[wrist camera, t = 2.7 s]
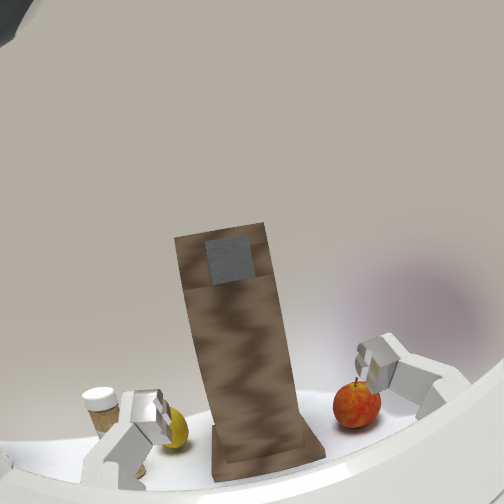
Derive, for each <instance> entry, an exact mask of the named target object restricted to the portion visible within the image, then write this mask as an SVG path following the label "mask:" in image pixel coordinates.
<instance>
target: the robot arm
mask: <svg viewBox="0 0 504 504" xmlns="http://www.w3.org/2000/svg"><path fill="white" fill-rule="evenodd" d="M44 1H45V0H0V47H2V46H3V45H5V44H7V43H8V42H10V41H11V40H13V39H14V37H15V36H16V34H17V33H18V32H19V31H20V30H21V29H22V28H24V26H26V25H27V24H28V22H29V21H30V20H31V19H32V18H33V17H34V15H35V14H36V13H37V12H38V10H39V9H40V7H41V6H42V4H43V2H44ZM357 351H358V352H359V354H358V355H357V357H356V360H355V366H356V370H357V373H358V374H359V376H360V377H361V378H363V379H366V382H365V385H366V387H367V388H368V390H369V391H370V393H371V394H372V395H373V394H376V393H378V392H381V391H383V390H386V389H388V388H389V390H391V391H393V392H395V393H397V394H398V395H401V396H402V397H404V398H406V399H408V400H410V401H412V402H414V403H416V404H418V405H420V406H421V407H420V409H419V410H418V412H417V414H416V419H417V420H418V421H417V422H415V423H413V424H412V425H410V426H408V427H406V428H404V429H403V430H401V431H399V432H397V433H395V434H393V435H391V436H389V437H387V438H385V439H383V440H381V441H379V442H376V443H374V444H372V445H370V446H368V447H365V448H363V449H361V450H358V451H356V452H354V453H351V454H349V455H346V456H343V457H341V458H338V459H335V460H333V461H330V462H327V463H324V464H321V465H318V466H315V467H312V468H308V469H305V470H302V471H298V472H295V473H291V474H287V475H283V476H279V477H275V478H271V479H266V480H261V481H257V482H251V483H246V484H240V485H233V486H226V487H219V488H210V489H199V490H183V491H146V486H145V485H144V484H143V483H142V482H140V481H139V480H138V479H136V478H135V475H136V473H137V472H138V470H139V468H140V467H141V465H142V464H143V462H144V460H145V459H146V457H147V455H148V454H149V452H150V450H151V449H152V447H153V446H152V445H162V444H172V430H171V428H170V427H169V424H170V423H171V422H172V418H171V411H170V407H169V404H168V403H167V401H166V400H164V399H163V394H162V392H161V390H160V389H154V390H138V391H125V392H124V393H123V394H122V400H121V406H120V412H119V419H118V423H115V424H114V425H113V426H112V427H111V428H110V429H109V431H108V432H107V433H106V434H105V435H104V436H103V437H102V438H101V440H100V441H99V442H98V443H97V444H96V445H95V446H94V448H93V449H92V450H91V451H90V452H89V453H88V454H87V455H86V457H85V458H84V461H83V468H82V475H81V484H76V483H70V482H65V481H61V480H56V479H52V478H48V477H44V476H41V475H37V474H34V473H30V472H27V471H24V470H21V469H12V463H13V462H12V460H11V458H10V457H9V456H8V455H4V454H3V452H2V450H1V449H0V504H504V358H503V359H502V360H501V361H500V362H499V363H498V364H497V365H495V366H494V367H493V368H492V369H491V370H490V371H488V372H487V373H486V374H485V375H484V376H482V377H481V378H480V379H479V380H478V381H476V382H475V383H474V384H472V385H471V384H470V383H469V381H468V380H467V379H466V378H465V377H464V376H463V375H462V374H461V373H460V372H459V371H458V370H457V368H455V367H451V366H449V365H446V364H443V363H440V362H437V361H433V360H431V359H428V358H425V357H422V356H419V355H416V354H410V353H409V352H408V351H407V350H406V349H405V348H404V347H403V346H402V345H401V343H400V342H399V341H398V340H397V339H396V338H395V337H394V336H393V335H392V334H391V333H387V334H384V335H381V336H379V337H376V338H373V339H371V340H368V341H365V342H363V343H360V344H359V345H358V348H357Z"/></svg>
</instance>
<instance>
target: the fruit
mask: <svg viewBox="0 0 504 504" xmlns="http://www.w3.org/2000/svg"><path fill="white" fill-rule="evenodd" d="M357 380H358V378H357V377H356V380H355V382H352V383H350V384H347V385H345V386H343V387H342V388H341V389H340V390H339V391H338V392H337V394H336V396H335V398H334V402H333V412H334V415H335V417H336V419H337V420H338V421H339V422H340V423H341V424H343V425H344V426H345V427H348V428H357V427H362V426H365V425H367V424H369V423H370V422H372V421H373V420H374V419H375V418H376V416H377V415H378V413H379V411H380V407H381V398H380V394H379V392H378V393H376V394H373V395H372V394H371V393H370V391H369V390H368V388H367V387H366V385H365V382H357Z"/></svg>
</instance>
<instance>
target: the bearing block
mask: <svg viewBox="0 0 504 504" xmlns="http://www.w3.org/2000/svg"><path fill="white" fill-rule="evenodd" d="M244 234H248V239H249V244H250V250H251V255H252V260H253V265H254V270H255V275H256V277H252V278H248V279H244V280H239V281H234V282H229V283H223V284H218V285H212V280H211V274H210V269H209V263H208V258H207V252H206V246H205V241H210V240H215V239H221V238H227V237H233V236H238V235H244ZM174 240H175V246H176V253H177V259H178V265H179V271H180V277H181V282H182V288H183V293H184V299H185V304H186V309H187V314H188V319H189V324H190V328H191V333H192V338H193V342H194V346H195V351H196V355H197V359H198V363H199V367H200V371H201V375H202V380H203V383H204V387H205V391H206V394H207V399H208V402H209V406H210V409H211V413H212V416H213V420H214V423H215V425H212V477H213V479H214V482H222V481H229V480H236V479H242V478H248V477H253V476H258V475H263V474H268V473H272V472H276V471H280V470H284V469H288V468H292V467H296V466H299V465H303V464H306V463H309V462H313V461H316V460H319V459H322V458H325V457H326V455H325V449H324V447H323V446H322V444H321V443H320V442H319V440H318V439H317V437H316V436H315V435H314V433H313V432H312V430H311V429H310V427H309V426H308V425H307V423H306V422H305V420H304V419H303V417H302V416H301V414H300V413H299V408H298V402H297V397H296V391H295V385H294V379H293V374H292V368H291V363H290V357H289V352H288V346H287V340H286V335H285V330H284V324H283V319H282V313H281V308H280V303H279V298H278V293H277V287H276V282H275V277H274V272H273V267H272V262H271V256H270V251H269V246H268V241H267V236H266V232H265V226H264V222H263V223H256V224H251V225H245V226H238V227H233V228H227V229H221V230H215V231H209V232H204V233H199V234H192V235H187V236H182V237H176V238H174Z"/></svg>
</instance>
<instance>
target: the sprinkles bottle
mask: <svg viewBox="0 0 504 504" xmlns="http://www.w3.org/2000/svg"><path fill="white" fill-rule="evenodd" d="M82 398H83V401H84V404H85V407H86V409H87V410H88V412H89V414H90V416H91V419H92V421H93V424H94V426H95V430H96V432H97V434H98V437H99V439H100V440H101V438H102V437H103V436H104V435H105V434H106V433H107V432H108V431H109V429H110V428H111V427H112V426H113V425H114V424H115V423H118V419H119V412H120V409H119V407H118V400H117V397H116V394H115V392H114V390H113V389H112V388H109V387H99V388H94V389H90V390H88V391H86V392H85V393H83V395H82ZM144 473H145V467H144V466H143V465H141V467H140V468H139V470H138V472H137V473H136V475H135V478H136V479H138V478H140V477H141V476H142V475H143V474H144Z"/></svg>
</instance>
